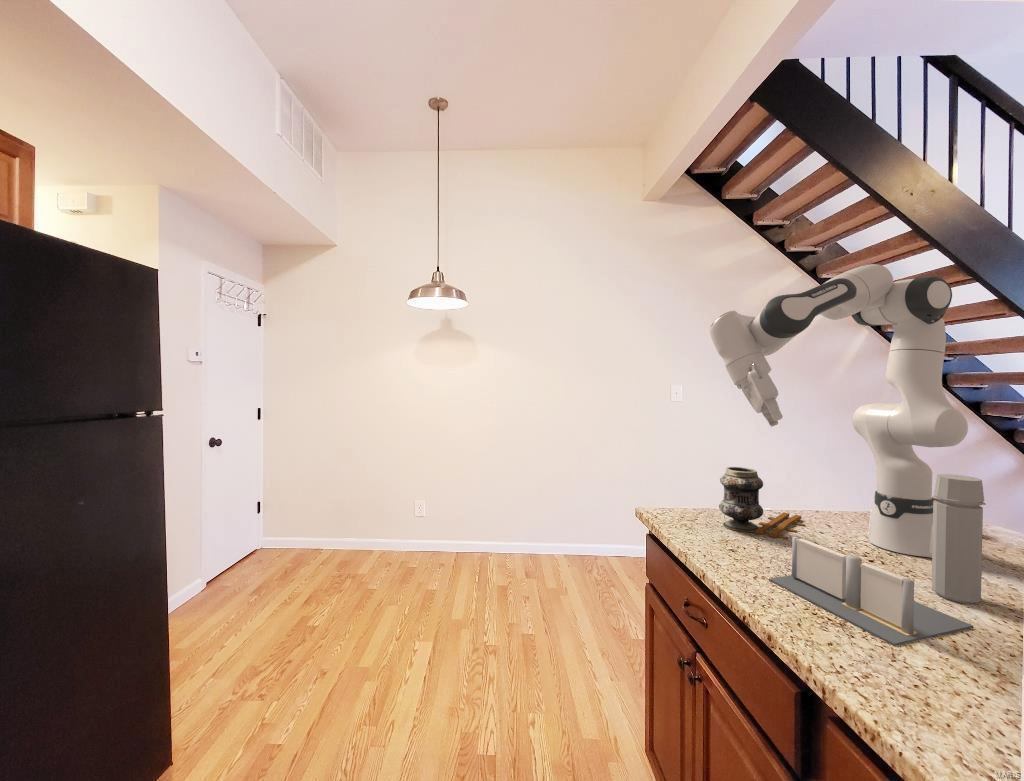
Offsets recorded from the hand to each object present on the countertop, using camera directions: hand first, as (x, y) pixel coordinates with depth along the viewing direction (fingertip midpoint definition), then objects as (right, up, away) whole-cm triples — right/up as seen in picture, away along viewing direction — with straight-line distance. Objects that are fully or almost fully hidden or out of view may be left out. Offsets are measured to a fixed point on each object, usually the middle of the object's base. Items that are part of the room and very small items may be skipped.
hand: (776, 422), depth 102 cm
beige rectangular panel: (+3, -34, -10) cm, 36 cm away
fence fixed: (+6, -35, -21) cm, 42 cm away
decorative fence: (+20, -35, +31) cm, 51 cm away
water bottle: (+30, -35, -12) cm, 48 cm away
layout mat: (+8, -35, -15) cm, 39 cm away
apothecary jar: (+8, -35, +31) cm, 47 cm away
